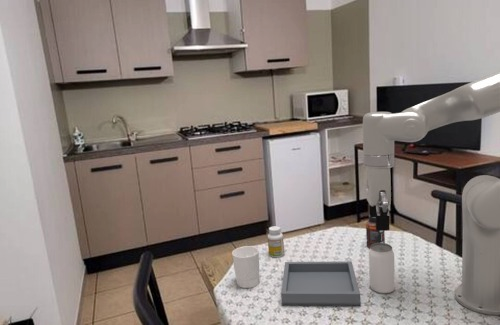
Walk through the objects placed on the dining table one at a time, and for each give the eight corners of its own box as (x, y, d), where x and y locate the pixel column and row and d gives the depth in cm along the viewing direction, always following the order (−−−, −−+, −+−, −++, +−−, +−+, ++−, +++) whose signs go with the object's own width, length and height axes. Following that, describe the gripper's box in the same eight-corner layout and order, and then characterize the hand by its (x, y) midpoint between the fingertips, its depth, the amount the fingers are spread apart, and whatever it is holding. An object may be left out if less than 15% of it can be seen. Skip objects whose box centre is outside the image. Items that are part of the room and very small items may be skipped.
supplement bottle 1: (275, 250, 130) (272, 224, 128) (287, 253, 127) (285, 226, 125) (265, 255, 126) (263, 229, 124) (278, 259, 123) (276, 232, 121)
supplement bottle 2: (387, 249, 123) (386, 217, 120) (369, 251, 123) (368, 219, 121) (381, 242, 128) (380, 212, 126) (364, 243, 129) (363, 213, 126)
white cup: (248, 273, 115) (245, 243, 113) (266, 281, 109) (264, 250, 107) (229, 283, 109) (226, 253, 108) (248, 292, 104) (244, 259, 102)
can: (391, 281, 103) (390, 241, 100) (397, 294, 96) (397, 251, 94) (367, 282, 103) (366, 242, 101) (372, 294, 97) (371, 252, 95)
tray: (352, 272, 110) (351, 261, 109) (360, 306, 92) (359, 293, 92) (286, 272, 113) (285, 262, 113) (281, 305, 96) (281, 293, 95)
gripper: (358, 155, 102) (359, 212, 106) (368, 168, 86) (369, 236, 89) (386, 153, 101) (386, 212, 104) (402, 166, 84) (401, 235, 88)
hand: (378, 223), depth 97 cm, fingers open, 9 cm apart
